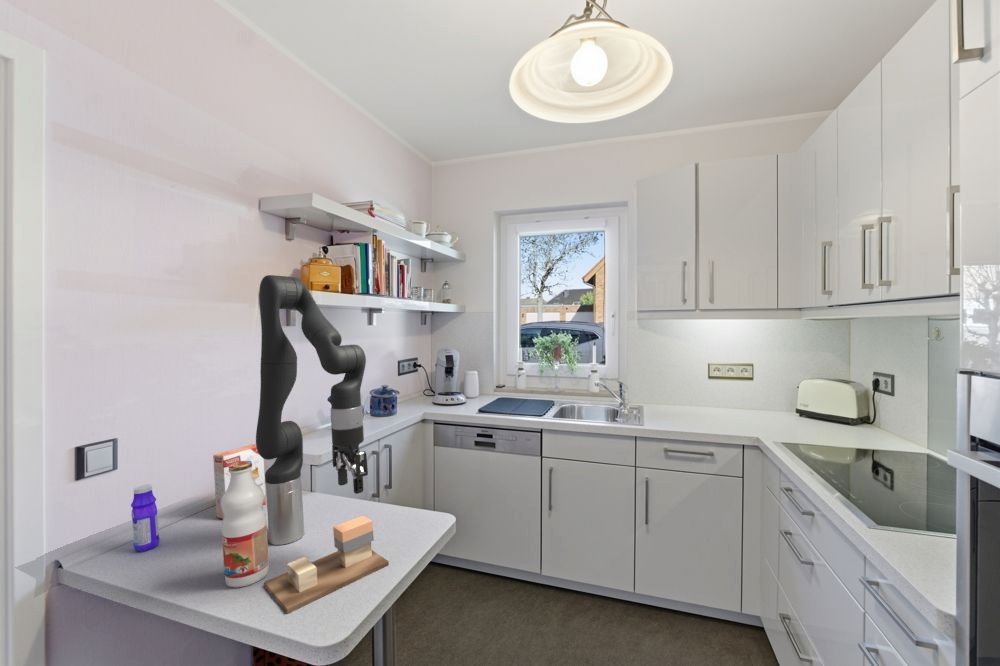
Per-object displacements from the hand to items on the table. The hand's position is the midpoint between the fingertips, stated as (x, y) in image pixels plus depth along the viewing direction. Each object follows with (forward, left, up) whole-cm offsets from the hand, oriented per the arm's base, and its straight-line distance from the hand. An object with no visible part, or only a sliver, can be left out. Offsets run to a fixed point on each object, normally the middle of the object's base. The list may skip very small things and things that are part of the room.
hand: (350, 488), depth 110 cm
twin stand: (0, -7, -19) cm, 20 cm away
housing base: (0, 0, -14) cm, 14 cm away
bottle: (-56, -35, -19) cm, 69 cm away
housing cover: (0, 0, -12) cm, 12 cm away
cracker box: (-62, -9, -19) cm, 66 cm away
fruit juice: (-15, -20, -19) cm, 32 cm away
